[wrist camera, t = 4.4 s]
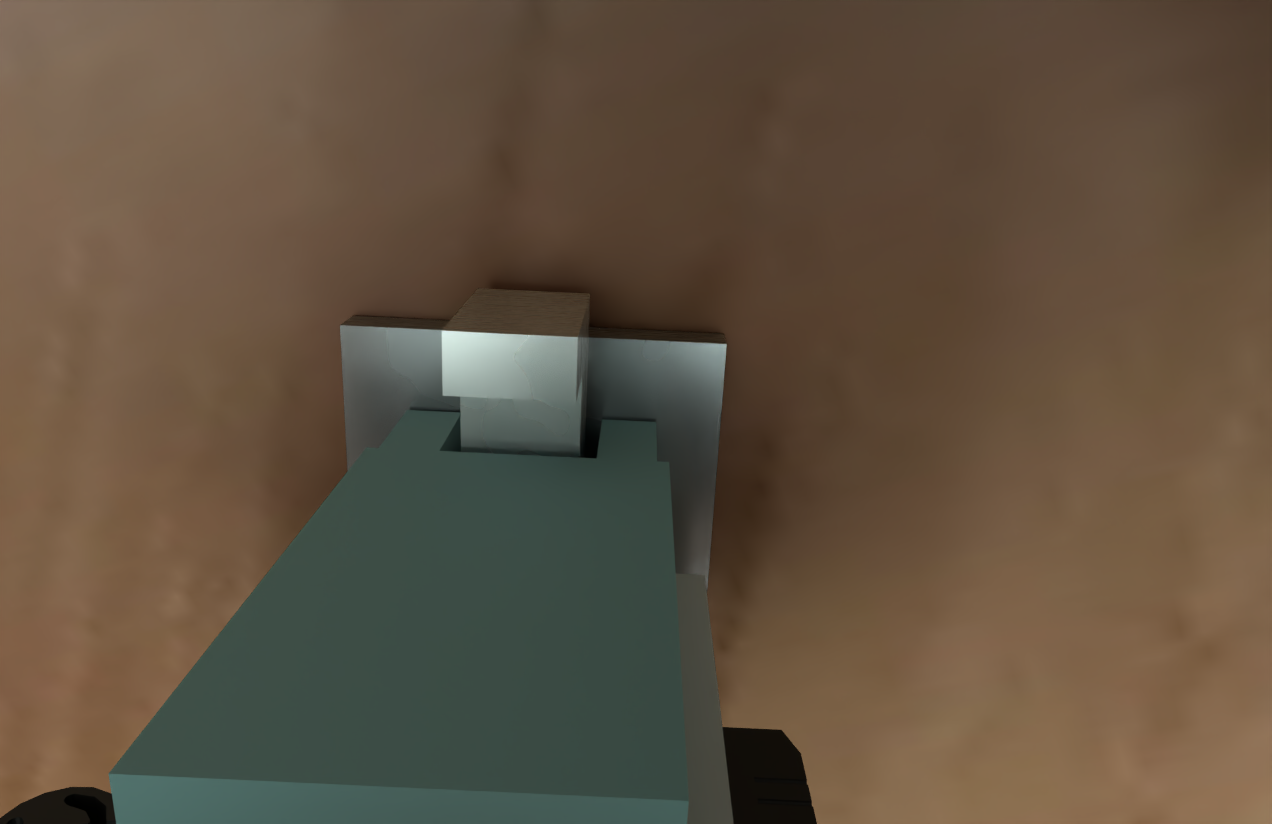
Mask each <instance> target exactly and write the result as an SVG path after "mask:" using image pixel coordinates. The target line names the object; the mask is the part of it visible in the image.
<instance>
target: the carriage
mask: <svg viewBox="0 0 1272 824" xmlns="http://www.w3.org/2000/svg"><path fill="white" fill-rule="evenodd" d="M109 779H110V786H111V792H112V799H113V805H114V812H115V818H116V824H687V818H688V805H689V795H688V778H687V761H686V743H685V726H684V709H683V692H682V674H681V657H680V640H679V623H678V605H677V588H676V571H675V554H674V536H673V519H672V502H671V485H670V467H669V462H659V461H657V438H656V422H647V421H627V420H606V419H602V424H601V431H600V438H599V445H598V452H597V458H576V457H556V456H535V455H514V454H493V453H473V452H461V417H460V412H440V411H420V410H407V411H406V413H405V414H404V415H403V417H402V418H401V419H400V420H399V422H398V423H397V424H396V426H395V427H394V428H393V430H392V431H391V432H390V434H389V435H388V436H387V438H386V439H385V440H384V442H383V443H382V444H381V446H380V447H379V448H369V447H367V448H366V449H365V450H364V451H363V453H362V454H361V455H360V456H359V458H358V459H357V460H356V461H355V463H354V464H353V465H352V467H351V468H350V469H349V470H348V472H347V473H346V474H345V475H344V477H343V478H342V479H341V480H340V482H339V483H338V484H337V486H336V487H335V488H334V489H333V491H332V492H331V493H330V494H329V496H328V497H327V498H326V499H325V501H324V502H323V503H322V504H321V506H320V507H319V508H318V510H317V511H316V512H315V513H314V515H313V516H312V517H311V518H310V520H309V521H308V522H307V523H306V525H305V526H304V527H303V529H302V530H301V531H300V532H299V534H298V535H297V536H296V537H295V539H294V540H293V541H292V542H291V544H290V545H289V546H288V548H287V549H286V550H285V551H284V553H283V554H282V555H281V556H280V558H279V559H278V560H277V561H276V563H275V564H274V565H273V566H272V568H271V569H270V570H269V572H268V573H267V574H266V575H265V577H264V578H263V579H262V580H261V582H260V583H259V584H258V585H257V587H256V588H255V589H254V591H253V592H252V593H251V594H250V596H249V597H248V598H247V599H246V601H245V602H244V603H243V604H242V606H241V607H240V608H239V610H238V611H237V612H236V613H235V615H234V616H233V617H232V618H231V620H230V621H229V622H228V623H227V625H226V626H225V627H224V629H223V630H222V631H221V632H220V634H219V635H218V636H217V637H216V639H215V640H214V641H213V642H212V644H211V645H210V646H209V647H208V649H207V650H206V651H205V653H204V654H203V655H202V656H201V658H200V659H199V660H198V661H197V663H196V664H195V665H194V666H193V668H192V669H191V670H190V672H189V673H188V674H187V675H186V677H185V678H184V679H183V680H182V682H181V683H180V684H179V685H178V687H177V688H176V689H175V691H174V692H173V693H172V694H171V696H170V697H169V698H168V699H167V701H166V702H165V703H164V704H163V706H162V707H161V708H160V709H159V711H158V712H157V713H156V715H155V716H154V717H153V718H152V720H151V721H150V722H149V723H148V725H147V726H146V727H145V728H144V730H143V731H142V732H141V734H140V735H139V736H138V737H137V739H136V740H135V741H134V742H133V744H132V745H131V746H130V747H129V749H128V750H127V751H126V753H125V754H124V755H123V756H122V758H121V759H120V760H119V761H118V763H117V764H116V765H115V766H114V768H113V769H112V770H111V771H110V773H109Z"/></svg>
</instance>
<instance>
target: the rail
mask: <svg viewBox="0 0 1272 824" xmlns="http://www.w3.org/2000/svg"><path fill="white" fill-rule="evenodd" d="M589 315H590V294H585V293H564V292H544V291H523V290H503V289H482V288H478V289H477V290H476V291H475V292H474V294H473V295H472V296H471V297H470V298H469V299H468V301H467V302H466V303H465V304H464V305H463V306H462V307H461V309H460V310H459V311H458V312H457V313H456V314H455V316H454V317H453V318H452V319H451V320H435V319H415V318H394V317H373V316H352V317H350V318H349V319H348V320H346V321H345V322H344V323H342V324H341V325H340V334H341V354H342V373H343V392H344V412H345V431H346V451H347V470H349V469H350V468H351V467H352V465H353V464H354V463H355V461H356V460H357V459H358V458H359V456H360V455H361V454H362V453H363V451H364V450H365V449H366V448H367V447H369V448H379V447H380V446H381V444H382V443H383V442H384V440H385V439H386V438H387V436H388V435H389V434H390V432H391V431H392V430H393V428H394V427H395V426H396V424H397V423H398V422H399V420H400V419H401V418H402V417H403V415H404V414H405V413H406V411H407V410H420V411H440V412H460V417H461V452H473V453H493V454H514V455H535V456H556V457H576V458H597V452H598V445H599V438H600V431H601V424H602V419H606V420H627V421H647V422H656V438H657V461H659V462H669V467H670V485H671V502H672V519H673V536H674V554H675V571H676V574H696V575H705V583H706V591H707V587H708V574H709V562H710V549H711V537H712V524H713V511H714V499H715V486H716V474H717V461H718V448H719V436H720V423H721V411H722V398H723V385H724V373H725V360H726V348H727V343H726V340H725V337H724V334H723V333H702V332H682V331H661V330H640V329H620V328H599V327H589Z"/></svg>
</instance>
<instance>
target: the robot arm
mask: <svg viewBox="0 0 1272 824" xmlns="http://www.w3.org/2000/svg"><path fill="white" fill-rule="evenodd" d="M676 588H677V605H678V623H679V640H680V657H681V674H682V692H683V709H684V726H685V743H686V761H687V778H688V795H689V805H688V818H687V824H817V822H816V818H815V814H814V809H813V807H812V801H811V796H810V792H809V788H808V785H807V779H806V775H805V770H804V766H803V762H802V757H801V753H800V752H799V751H798V750H797V748H796V747H795V746H794V745H793V744H792V742H791V741H790V740H789V739H788V737H787V736H786V735H785V734H784V733H783V731H782V730H771V729H750V728H729V727H722V720H721V711H720V703H719V694H718V686H717V677H716V668H715V660H714V651H713V643H712V634H711V626H710V617H709V608H708V600H707V591H706V583H705V575H696V574H676ZM0 824H116V818H115V812H114V805H113V799H112V793H111V794H110V793H108V792H105V791H102V790H100V789H97V788H94V787H69V788H65V789H60V790H56V791H51V792H47V793H44V794H42V795H39V796H37V797H35V798H32V799H30V800H28V801H26V802H23V803H21V804H19V805H18V806H17V807H15V808H14V809H12V810H11V811H9V812H8V813H7V814H5V815H4V816H2V817H1V818H0Z"/></svg>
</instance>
